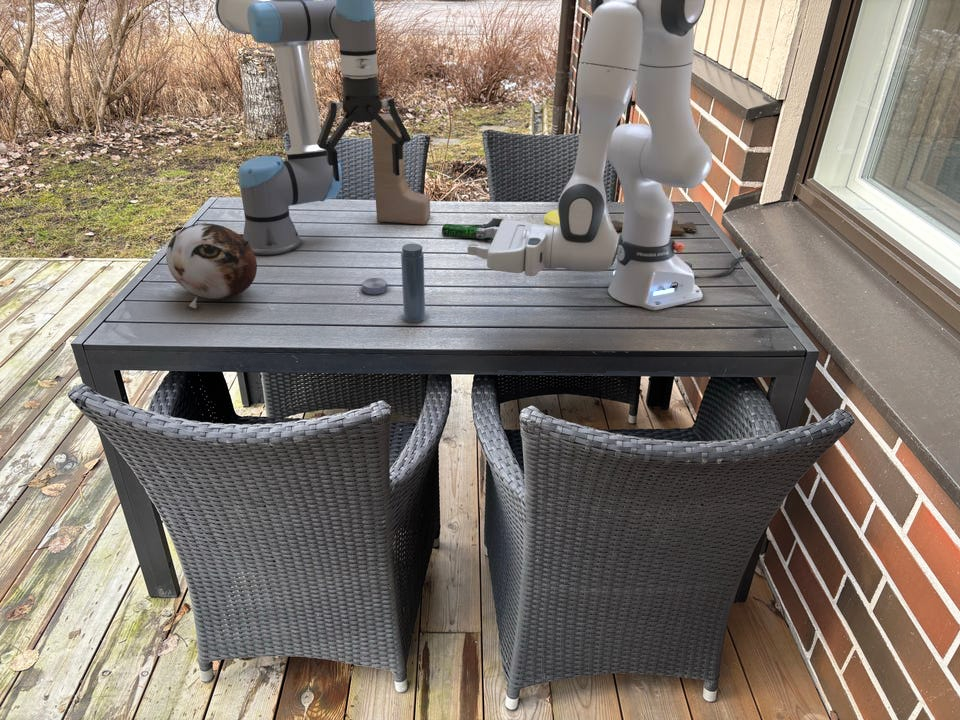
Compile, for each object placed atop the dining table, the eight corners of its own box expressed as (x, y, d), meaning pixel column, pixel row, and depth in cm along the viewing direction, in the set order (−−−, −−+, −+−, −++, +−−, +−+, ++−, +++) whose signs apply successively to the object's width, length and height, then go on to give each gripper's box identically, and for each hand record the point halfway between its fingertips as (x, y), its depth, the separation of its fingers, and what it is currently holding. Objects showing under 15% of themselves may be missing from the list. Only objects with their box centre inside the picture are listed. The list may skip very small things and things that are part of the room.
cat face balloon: (130, 285, 161) (164, 203, 163) (192, 308, 177) (221, 233, 178) (195, 307, 151) (229, 220, 152) (254, 330, 166) (285, 250, 168)
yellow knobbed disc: (559, 216, 220) (561, 193, 217) (605, 227, 212) (608, 204, 209) (532, 230, 209) (533, 207, 206) (580, 242, 201) (582, 218, 198)
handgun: (511, 219, 210) (493, 234, 198) (511, 228, 211) (492, 244, 199) (461, 212, 215) (440, 226, 203) (461, 221, 217) (440, 236, 204)
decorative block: (425, 225, 212) (423, 121, 196) (376, 222, 213) (369, 118, 198) (430, 216, 218) (428, 115, 203) (382, 213, 220) (376, 113, 204)
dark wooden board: (699, 237, 207) (691, 225, 216) (700, 231, 206) (692, 220, 215) (610, 234, 207) (606, 222, 216) (611, 228, 207) (607, 217, 215)
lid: (392, 290, 173) (391, 283, 172) (371, 297, 170) (371, 290, 169) (378, 282, 177) (377, 275, 176) (357, 288, 174) (357, 282, 173)
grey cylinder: (405, 323, 159) (401, 252, 150) (402, 313, 163) (399, 243, 154) (426, 321, 160) (424, 250, 151) (423, 312, 164) (421, 242, 155)
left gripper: (302, 81, 142) (313, 187, 153) (422, 75, 150) (425, 176, 161) (296, 75, 148) (307, 177, 159) (412, 70, 156) (415, 167, 167)
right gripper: (544, 214, 154) (481, 210, 156) (533, 249, 137) (463, 244, 139) (542, 242, 158) (481, 237, 160) (532, 280, 140) (463, 274, 142)
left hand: (366, 176), depth 160 cm, fingers open, 13 cm apart
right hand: (472, 240), depth 149 cm, fingers open, 8 cm apart
